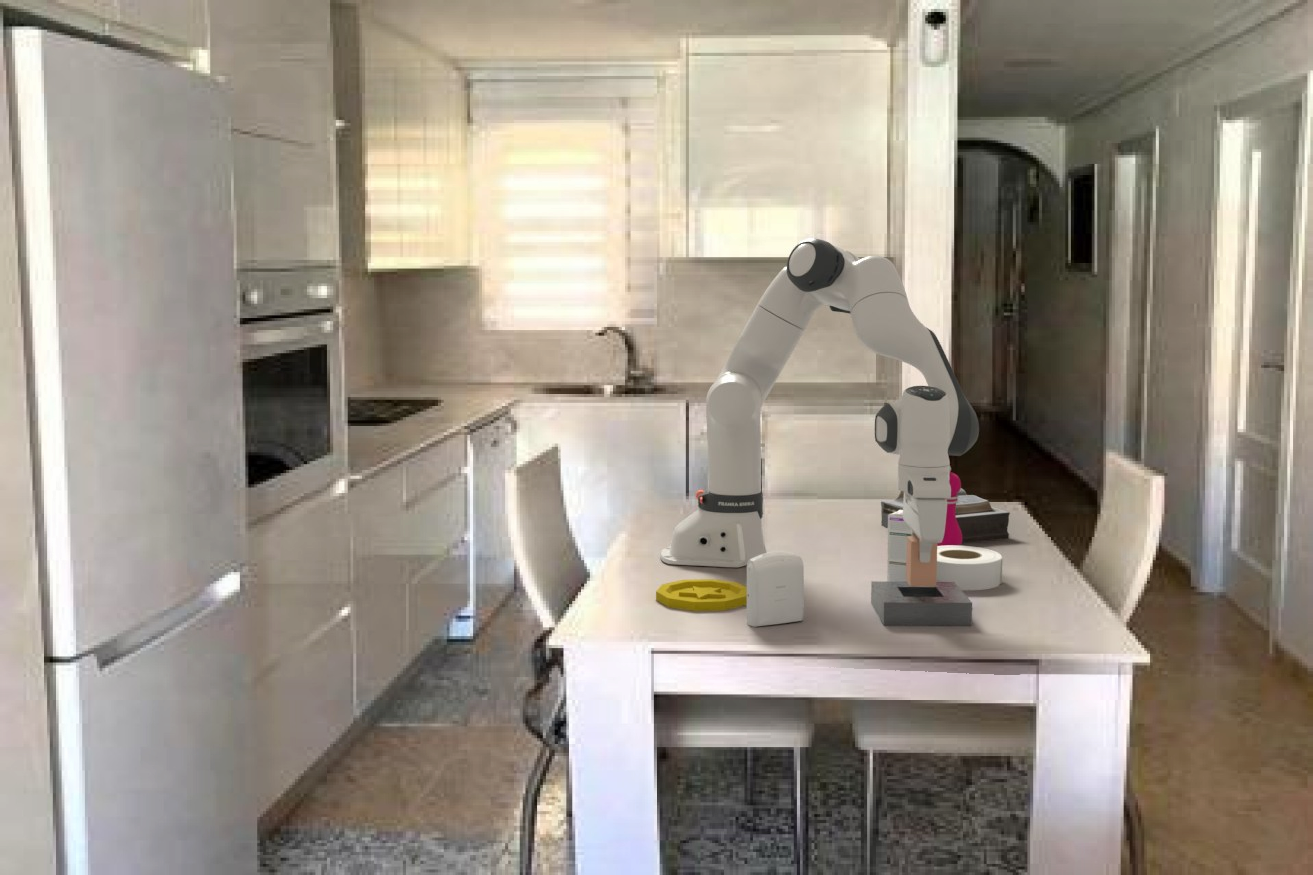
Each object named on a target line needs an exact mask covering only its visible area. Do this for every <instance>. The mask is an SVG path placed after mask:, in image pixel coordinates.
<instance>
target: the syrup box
mask: <svg viewBox="0 0 1313 875" xmlns="http://www.w3.org/2000/svg"><path fill="white" fill-rule="evenodd" d="M907 536H911V529H910V528H909V526H908V525H907V524H906V523H905V522H904V520H903V510H898V511H897V512H894V513H892V514H889V515H888V528H887V581H886V582H907V581H906V557H907Z"/></svg>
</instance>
